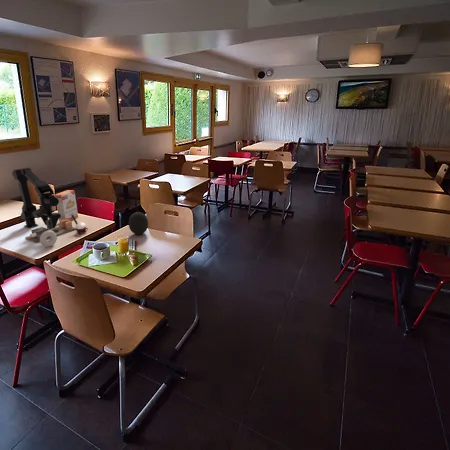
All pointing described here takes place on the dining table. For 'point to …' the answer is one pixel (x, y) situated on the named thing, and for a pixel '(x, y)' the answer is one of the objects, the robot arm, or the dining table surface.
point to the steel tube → (49, 226)
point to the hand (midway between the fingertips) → (50, 226)
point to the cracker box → (67, 205)
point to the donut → (45, 235)
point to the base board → (42, 229)
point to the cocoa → (80, 226)
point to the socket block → (66, 224)
